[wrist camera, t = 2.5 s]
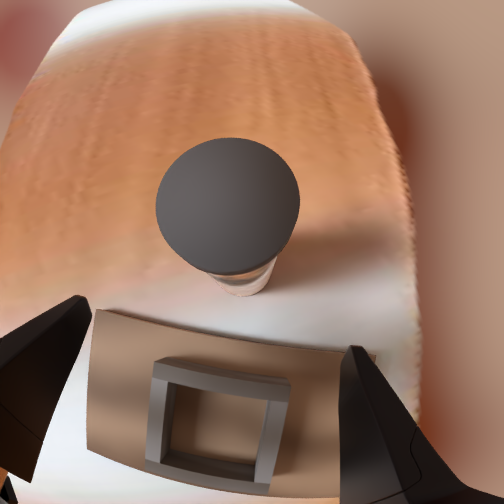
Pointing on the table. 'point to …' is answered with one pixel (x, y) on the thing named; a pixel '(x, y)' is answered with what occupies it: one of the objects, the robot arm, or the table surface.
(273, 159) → the capped glass jar
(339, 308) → the table surface
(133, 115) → the table surface
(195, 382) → the docking board
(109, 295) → the table surface
